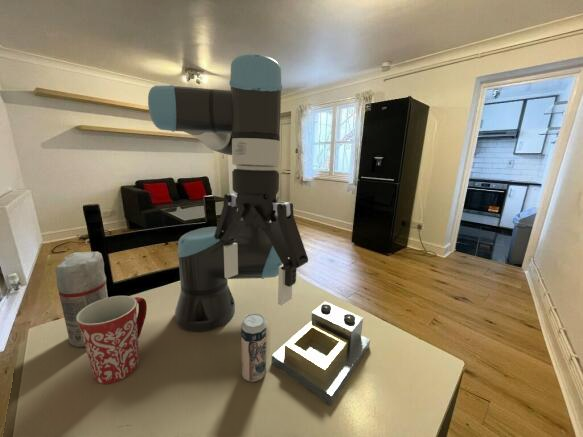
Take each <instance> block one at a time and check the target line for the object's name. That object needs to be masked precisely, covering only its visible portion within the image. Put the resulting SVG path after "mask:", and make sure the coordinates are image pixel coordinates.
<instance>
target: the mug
mask: <svg viewBox="0 0 583 437" xmlns="http://www.w3.org/2000/svg"><path fill="white" fill-rule="evenodd" d="M137 305H138V312H137ZM147 309H148V306H147V301H146V299H145V298H143V297H137V296H136V297H133V296H130V295H114V296H110V297H109V296H108V298H104V299H101V300H98V301H96V302H94V303H92V304H90V305H88V306H86V307H85V308H83V309H82V310H81V311H80V312H79V313H78V314H77V316H76V321H77V322H78V323H79V326H80V329H81V333H82V337H83V340H84V343H85V349H86V354H87V357H88V360H89V363H90V366H91V371H92V374H93V377H94V380H95V381H96V382H97V383H99V384H102V385H109V384H110V385H111V384H114V383H117V382H119V381H122V380H125V378H127V377H128V376H129V375H131V374H132V373H133V372H134V371H135V370H136V369H137V367H138V365H139V362H140V353H139V338H140V335H141V333H142V330H143V327H144V323H145V320H146V316H147V311H148V310H147Z"/></svg>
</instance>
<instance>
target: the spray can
mask: <svg viewBox="0 0 583 437" xmlns="http://www.w3.org/2000/svg"><path fill="white" fill-rule="evenodd" d="M54 272H55V275H56V287H57V291H58V295H59V296H58V297H59V300H60V305H61V307H62V308H61V309H62V314H63V316H64V322H65V326H66V331H67V336H68V337H67V339H68V343H69V345H71V346H72V347H73V346H74V347H76V348H84V347H85V343H84V340H83V337H82V333H81V329H80V326H79V323H78V322H77V321H76V316H77V314H78V313H79V312H80V311H81V310H82V309H83V308H85V307H86V306H88V305H90V304H92V303H94V302H96V301H98V300H101V299H104V298H108V297H109V296H108V289H107V276H106V273H105V262H104V258H103V254H102V253H101V252H99V251H83V252H80V251H77V252H76V251H75V252H72V253H69V254H68V255H66V256H65V257H64V258H63V260H62V261H61V262H60V263H59V264H58V265H57V266H56V267H55V270H54ZM85 348H86V347H85Z"/></svg>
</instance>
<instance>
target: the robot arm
mask: <svg viewBox="0 0 583 437" xmlns="http://www.w3.org/2000/svg"><path fill="white" fill-rule="evenodd" d="M229 77H230V78H229V79H230V80H229V86H230V89H229V90H227V89H217V88H202V87H189V86H180V85H179V86H178V85H174V84H170V85H154V86H152V87H151V88H150V89H149V91H148V97H147V104H148V105H147V106H148V111H149V116H150V119H151V120H152V123H153V125H154V126H155V127H156V128H157V129H159V130H160V131H161V130H162V131H169V132H172V133H173V132H184V133H186V134H188V135H190V136H192V137H194V138H196V139H197V140H199V141H200V142H201V143H202V144H203V146H204V147H206V148H207V149H209V150H212V151H214V152H217V153H220V154H224V155H228V156H231V163H232V165H234V166H235V167H236V168H234V169H233V170H231V172H232V173H231V174H232V177H231V179H232V180H231V182H232V191H233V193H225V194H224V196H223V207H222V210H221V213H220V216H219V220H218V222H217V225H216V226H207V227H201V228H197V229H194V230H190V231H188V232H186V233H184V234H183V235H181V236H180V238H179V239H178V240H177V241H178V243H177V244H178V245H177V249H178V250H177V257H178V268H179V280H180V282H179V283H180V293H179V297H178V300H177V305H176V307H175V312H174V313H175V316H174V317H175V322H176V324H177V326H178V327H180V328H181V329H183V330H185V331H189V332H205V331H211V330H214V329H216V328H219V327H222V326H223V325H225V324H227V323H228V322H229V321H230V320H231V319H232V318H233V317H234V315H235V311H236V307H235V306H236V305H235V304H236V303H235V302H236V301H235V298H234V297H233V294H232V292H231V290H230V287H229V283H228V280H239V279H240V280H241V279H242V280H244V279H250V280H251V279H261V280H263V279H269V278H276V277H278V284H277V285H278V286H277V288H278V292H277V305H279V306H283V305H285V304H286V303H288V301H290V300H292V299H293V286H294V285H295V284H296V282H297V270H298V268H300V267H302V266H303V265H305V264H308V263H309V258H308V255H307V252H306V248H305V246H304V243H303V239H302V237H301V233H300V232H299V231H300V230H299V227H298V224H297V222H296V219H295V217H294V216H295V215H294V214H295V212H294V204H293V202H291V201H287V202H278V201H277V194H278V192H279V190H280V172H279V170H278V169H277V167H280V166H281V156H280V155H281V154H280V153H281V152H280V151H281V136H280V133H281V132H280V129H281V111H282V110H281V108H282V107H281V105H282V90H283V84H282V67H281V66H280V64H279V63H278V61H277V60H275V59H273V58H271V57H270V56H266V55H262V54H255V53H247V54H242V55H241V54H240V55H239V56H237V57H235V58H233V60H232V61H231V63H230V76H229Z"/></svg>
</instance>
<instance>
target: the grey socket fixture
mask: <svg viewBox="0 0 583 437" xmlns="http://www.w3.org/2000/svg"><path fill="white" fill-rule="evenodd" d="M363 322H364V317H363V316H360V315H358V314H356V313H353V312H350V311H349V310H346V309H343V308H341V307H339V306H336V305H334V304H332V303H329V302H328V301H324V302H322V303H321V304H320V305H319V306H317V308H315V309H314V310H313V311H312V312H311V321H310V322H308V323H307V324H306V325H305V326H303V327H302V328H301V329H300V330H299V331H298V332H297V333H295V334H294V335H293V336H292V337H291V338H289V339H288V341H286V342H285V343H284V344H283V345H282V346H280V347H279V348H278V349H277V350H276V351H274V352H273V354H271V364H272V365H273V366H275V367H276V368H278V369H279V370H280V371H281V372H283V373H284V374H286V375H287V376H289V377H290V378H292V379H293V380H294V381H296V382H297V383H299V384H300V385H302V386H303V387H305V388H306V389H307V390H309V391H310V392H311V393H313V394H314V395H316V396H317V397H319V399H321V400H323V401H324V402H326V403H327V404H329V405H330V406H332V404H333V402H334V401H335V400H336V399H337V396H339V393H340V392H341V390H342V389H343V388H344V386H345V384H346V382H348V380H349V378H350V376H351V375H352V374H353V372H355V369H356V368H357V367H358V365H359V363H360V362H361V360H362V359H363V357H364V355H365V354H366V353H367V351H368V349H369V348H370V343H371V339H370V338H368V337H366V336H364V335H362V332H363V324H364V323H363Z"/></svg>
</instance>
